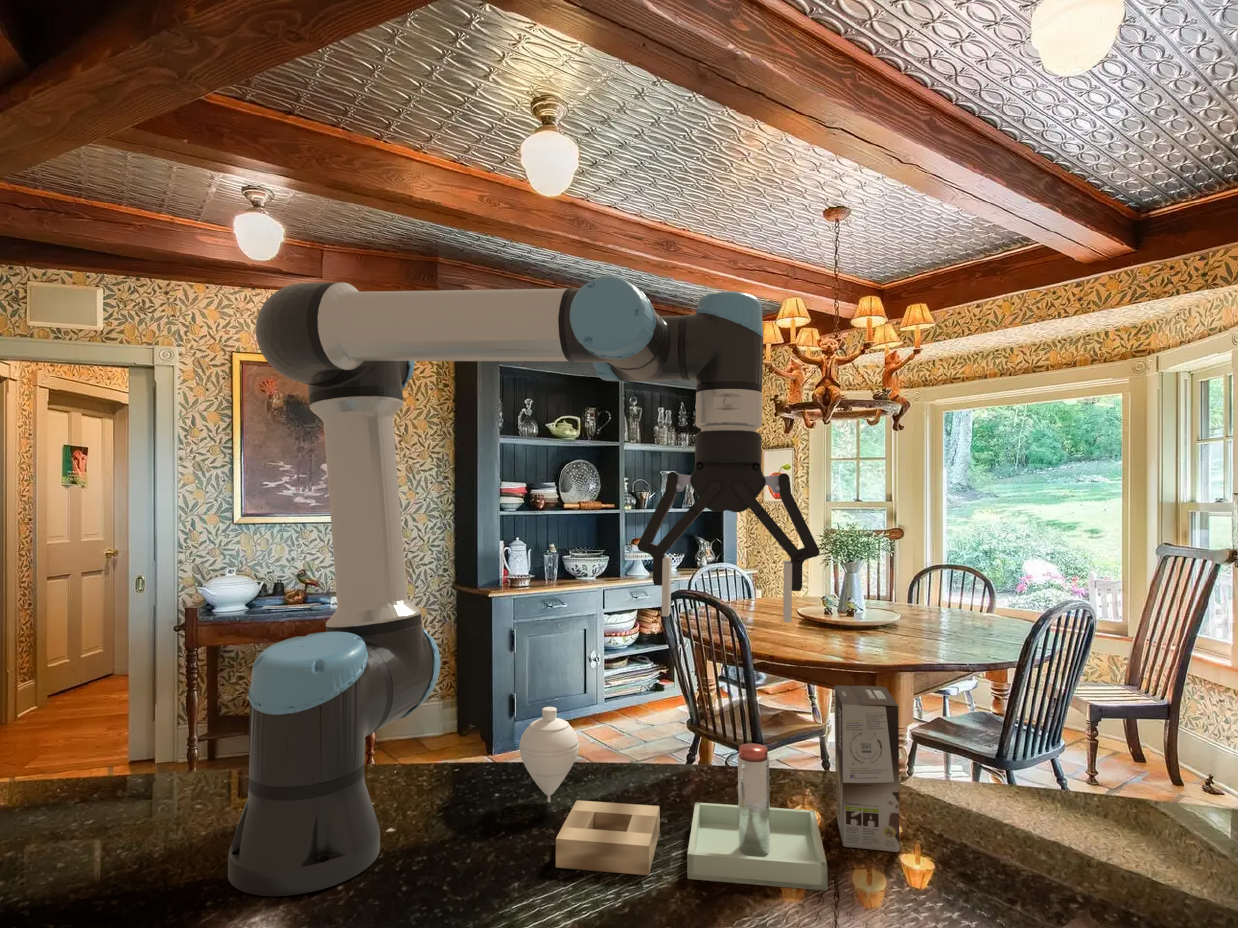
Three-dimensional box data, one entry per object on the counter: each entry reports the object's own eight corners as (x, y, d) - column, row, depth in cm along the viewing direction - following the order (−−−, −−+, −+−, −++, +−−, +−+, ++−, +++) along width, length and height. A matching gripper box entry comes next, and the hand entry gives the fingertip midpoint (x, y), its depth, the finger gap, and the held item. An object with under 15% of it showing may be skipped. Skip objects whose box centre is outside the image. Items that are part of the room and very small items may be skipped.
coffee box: (902, 853, 81) (900, 705, 82) (841, 847, 83) (840, 702, 83) (889, 818, 90) (887, 685, 91) (834, 813, 92) (833, 682, 92)
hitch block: (555, 867, 78) (555, 838, 78) (576, 825, 88) (576, 800, 88) (649, 875, 77) (649, 845, 77) (659, 831, 87) (659, 805, 87)
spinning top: (533, 820, 90) (534, 720, 90) (509, 797, 96) (510, 704, 97) (589, 806, 94) (589, 711, 94) (562, 786, 100) (563, 696, 101)
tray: (687, 878, 76) (687, 853, 76) (695, 823, 89) (695, 802, 89) (827, 890, 74) (827, 865, 74) (814, 832, 87) (814, 810, 87)
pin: (738, 855, 80) (737, 752, 80) (738, 840, 83) (737, 742, 84) (770, 857, 79) (769, 754, 80) (769, 843, 83) (768, 743, 83)
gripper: (615, 427, 83) (611, 617, 82) (845, 428, 79) (844, 628, 78) (626, 432, 90) (622, 607, 89) (837, 434, 86) (835, 617, 85)
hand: (725, 617), depth 84 cm, fingers open, 13 cm apart
